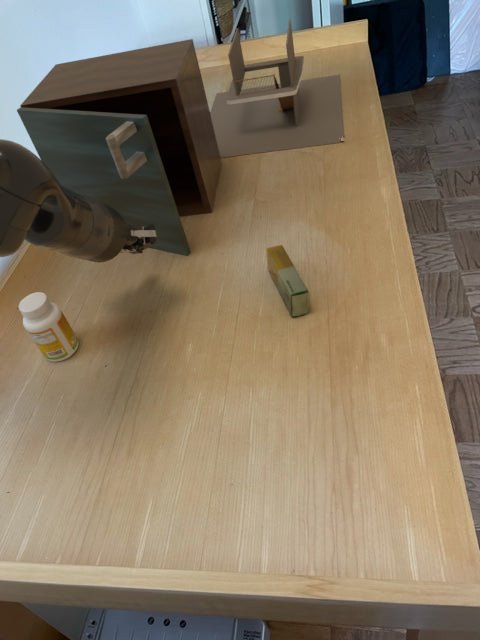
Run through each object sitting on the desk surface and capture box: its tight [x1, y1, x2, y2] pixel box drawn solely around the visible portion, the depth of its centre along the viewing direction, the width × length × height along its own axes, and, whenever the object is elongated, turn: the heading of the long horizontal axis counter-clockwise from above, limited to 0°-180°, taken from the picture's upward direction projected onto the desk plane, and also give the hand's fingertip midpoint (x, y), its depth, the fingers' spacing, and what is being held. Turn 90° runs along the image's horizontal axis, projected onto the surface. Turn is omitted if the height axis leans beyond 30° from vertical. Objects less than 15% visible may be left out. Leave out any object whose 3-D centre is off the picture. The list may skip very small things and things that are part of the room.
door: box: [16, 106, 192, 257], centre depth 87 cm, size 6×26×24 cm, turn 60°
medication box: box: [266, 244, 310, 318], centre depth 78 cm, size 12×3×4 cm, turn 15°
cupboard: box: [19, 38, 223, 218], centre depth 99 cm, size 18×26×24 cm
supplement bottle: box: [18, 291, 80, 363], centre depth 76 cm, size 5×5×10 cm
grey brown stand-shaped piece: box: [210, 18, 345, 159], centre depth 117 cm, size 31×35×17 cm
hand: (137, 246), depth 83 cm, fingers closed
